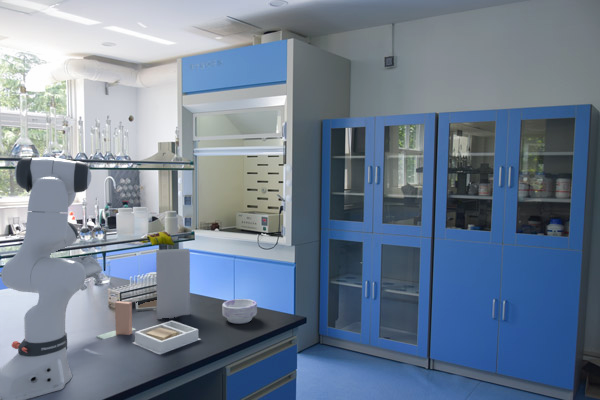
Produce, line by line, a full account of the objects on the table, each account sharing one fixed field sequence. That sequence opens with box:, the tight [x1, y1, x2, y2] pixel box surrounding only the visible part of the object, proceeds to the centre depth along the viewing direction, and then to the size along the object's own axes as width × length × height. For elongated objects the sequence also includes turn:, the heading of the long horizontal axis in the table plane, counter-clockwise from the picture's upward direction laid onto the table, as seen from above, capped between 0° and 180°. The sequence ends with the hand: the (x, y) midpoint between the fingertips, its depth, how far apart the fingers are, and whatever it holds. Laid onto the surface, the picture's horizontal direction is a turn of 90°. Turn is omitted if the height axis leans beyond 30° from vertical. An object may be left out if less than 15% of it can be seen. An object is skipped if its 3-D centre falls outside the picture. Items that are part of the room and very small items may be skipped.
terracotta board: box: [114, 300, 133, 336], centre depth 181 cm, size 2×6×13 cm, turn 78°
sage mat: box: [96, 327, 137, 340], centre depth 181 cm, size 14×14×1 cm
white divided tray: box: [132, 320, 201, 356], centre depth 174 cm, size 19×17×5 cm
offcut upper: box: [146, 328, 177, 341], centre depth 172 cm, size 7×9×2 cm
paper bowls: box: [221, 298, 258, 325], centre depth 202 cm, size 15×15×8 cm
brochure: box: [155, 248, 191, 320], centre depth 205 cm, size 14×6×30 cm, turn 108°
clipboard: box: [135, 300, 157, 312], centre depth 227 cm, size 19×2×30 cm
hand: (92, 286), depth 183 cm, fingers open, 8 cm apart
